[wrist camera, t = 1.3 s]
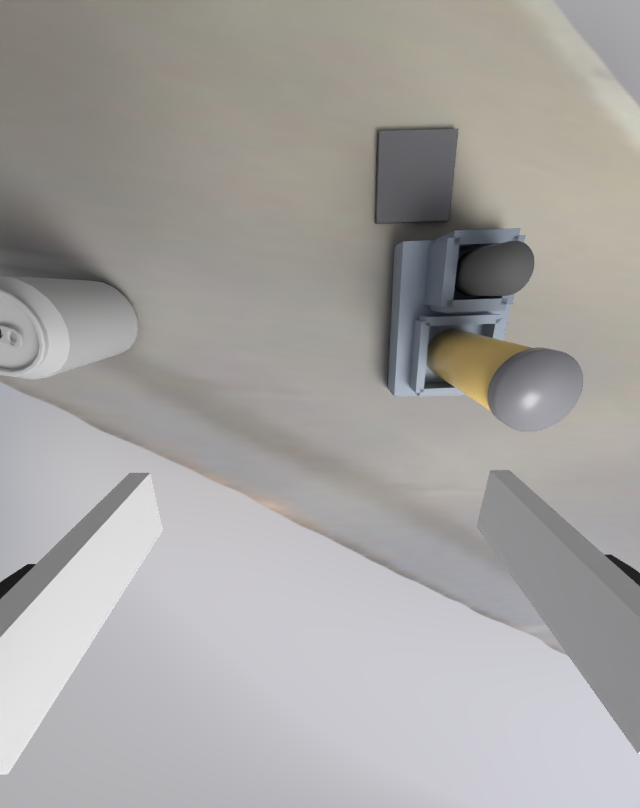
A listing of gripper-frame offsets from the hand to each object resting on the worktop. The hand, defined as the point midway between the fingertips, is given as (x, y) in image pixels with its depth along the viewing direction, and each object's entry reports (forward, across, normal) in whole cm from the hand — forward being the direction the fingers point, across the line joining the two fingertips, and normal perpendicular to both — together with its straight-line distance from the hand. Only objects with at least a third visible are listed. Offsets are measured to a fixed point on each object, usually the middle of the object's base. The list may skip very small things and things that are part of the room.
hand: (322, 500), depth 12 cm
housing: (+24, +14, +5) cm, 28 cm away
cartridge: (+21, +14, +2) cm, 25 cm away
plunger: (+18, +14, +9) cm, 25 cm away
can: (+24, -22, +5) cm, 33 cm away
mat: (+24, +9, +18) cm, 31 cm away
